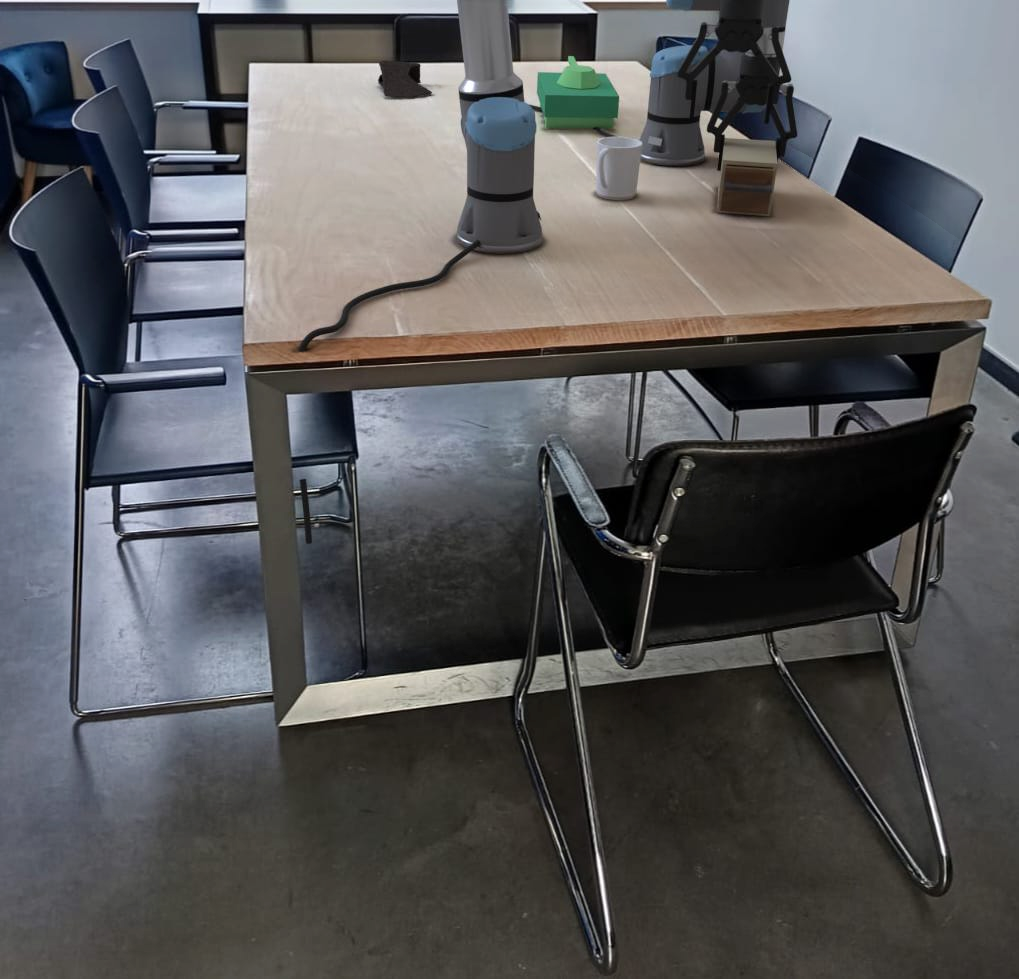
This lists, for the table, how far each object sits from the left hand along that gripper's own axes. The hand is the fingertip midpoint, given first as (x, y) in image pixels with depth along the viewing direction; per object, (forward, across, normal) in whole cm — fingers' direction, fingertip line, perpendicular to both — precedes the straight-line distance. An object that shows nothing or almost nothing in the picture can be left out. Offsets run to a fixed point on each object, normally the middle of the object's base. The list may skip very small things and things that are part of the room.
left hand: (728, 120), depth 202 cm
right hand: (+13, -5, -14) cm, 20 cm away
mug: (+18, +21, -8) cm, 29 cm away
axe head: (+17, +86, -93) cm, 128 cm away
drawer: (+17, -5, -6) cm, 19 cm away
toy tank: (+18, +37, -75) cm, 86 cm away
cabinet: (+18, -5, -10) cm, 21 cm away
